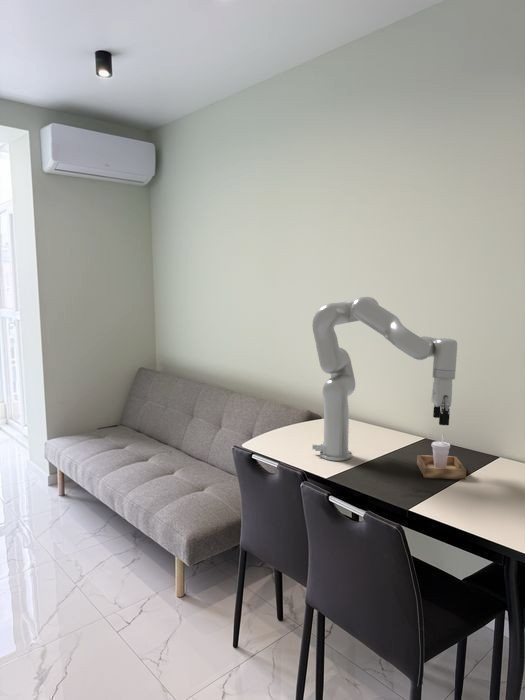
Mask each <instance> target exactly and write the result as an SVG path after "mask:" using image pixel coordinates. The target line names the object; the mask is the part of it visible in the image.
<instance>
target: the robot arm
mask: <svg viewBox="0 0 525 700" xmlns="http://www.w3.org/2000/svg"><path fill="white" fill-rule="evenodd" d="M359 321H360V322H361V323H363V324H365V325H366V326H368V327H369V328H370V329H372V330H374V331H375V332H376V333H378V334H380V335H381V336H383V337H384V338H385V339H386V340H387V341H388V342H389V343H391V344H392V345H393V346H394V347H396V348H397V349H398V350H400V351H402V352H403V353H404V354H406V355H408V356H409V357H411V358H413V359H415V360H418V361H423V360H425V359H427V358H430V357H433V363H432V365H433V366H432V378H433V383H432V391H431V393H432V394H431V403H432V404H433V414H432V417H433V419H434V418H435V419H439V420H438V425H439V426H450V412H451V411H450V408H451V406H452V398H453V397H452V395H453V380H454V381H455V379H456V369H457V357H458V356H457V355H458V342H457V340H455V339H452V338H436V337H431V336H426V335H425V336H419V335H417V334H416V333H414V332H413V331H412V330H410V329H408V328H407V327H406V326H404V325H403V323H402V322H401V319H399V317H398V316H397V315H395V314H394V313H392V312H391V311H389V310H387V309H386V308H384V307H382V306H381V305H380V304H379V302H378V301H377V300H376V299H375V298H374V297H371V296H361V297H358V298H356V299H353V300H348V301H342V302H331V303H327V304H325V305H323V306H321V308H319V309H318V310H317V311H316V312H315V314H314V316H313V319H312V324H311V325H312V326H311V327H312V332H313V336H314V340H315V341H314V342H315V347H316V352H317V357H318V362H319V366H320V368H321V370H322V371H323V373H326V374H327V375H328V374H329V375H330V378H328V379H327V380H326V381H325V383H324V384H323V387H322V397H323V399H322V400H323V442H322V443H321V444H312V450H315V452H319V457H321V458H322V459H325V460H327V461H332V462H333V461H335V462H337V461H340V462H341V461H348V460H350V459H352V457H353V453H352V451H350V450H349V433H350V432H349V427H350V426H349V424H350V421H349V419H350V413H349V411H350V409H349V402H348V399H349V398H348V397H350V396H351V395H352V394H353V393H354V391H355V390H356V379H355V375H354V370H353V369H354V368H353V365H352V360H351V357H350V355H349V353H348V352H347V350H346V349H344V348H342V347H340V346H339V341H338V337H337V334H336V331H335V327H336V326H338V325H343V324H349V323H353V322H354V323H355V322H359Z"/></svg>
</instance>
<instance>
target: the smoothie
mask: <svg viewBox="0 0 525 700" xmlns="http://www.w3.org/2000/svg"><path fill="white" fill-rule="evenodd" d="M444 434H445V432H444V431H441V441H440V440H438V441H432V442H431V447H432V456H433V458H434V468H446V464H447V459H448V456H449V453H450V448H451V444H450V443H449V442H446V441H444V439H445V438H444Z"/></svg>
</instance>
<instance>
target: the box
mask: <svg viewBox="0 0 525 700" xmlns="http://www.w3.org/2000/svg"><path fill="white" fill-rule="evenodd" d="M416 465H417V467H418V469H419V471H420V473H421V475H422V477H423V478H424V479H441V480H442V479H444V480H445V479H446V480H464V479H466V480H467V468H465V466H464V465H463V463H462V462H461V461H460V460H459V458H458V457H457V456H456V455H455V456H453V455H452V456H451V455H448V459H447V464H446V468H434V458H433V455H427V454H426V455H424V454H417V455H416Z"/></svg>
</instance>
